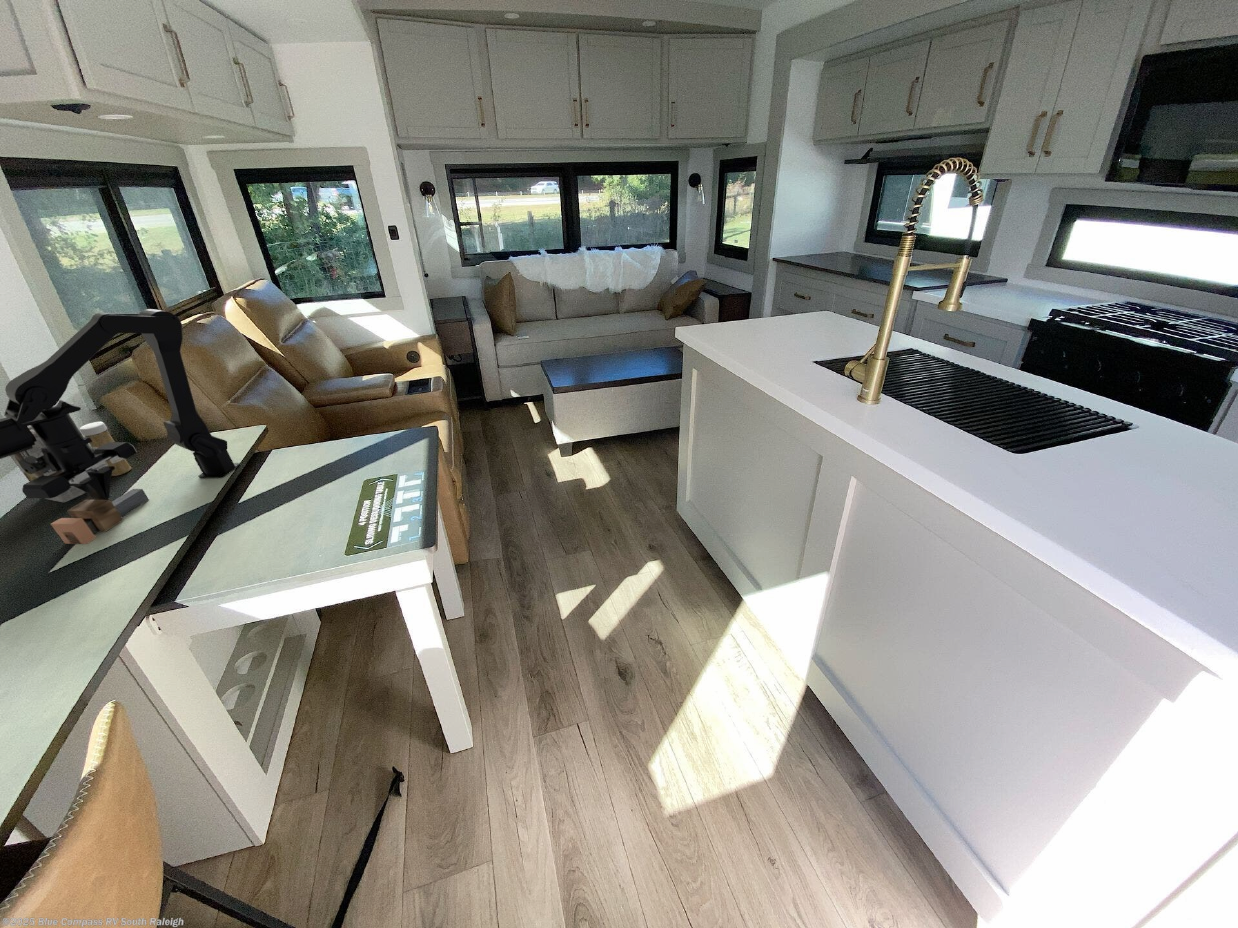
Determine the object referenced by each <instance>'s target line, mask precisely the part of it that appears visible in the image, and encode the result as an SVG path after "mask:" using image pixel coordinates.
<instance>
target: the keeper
mask: <svg viewBox="0 0 1238 928" xmlns="http://www.w3.org/2000/svg"><path fill="white" fill-rule="evenodd" d="M66 511H67V513H68V514H69V516H70V518H82V519H92V520H93V522H94V523H95V525H96V526H97V527H98V529H99V530H100V532H107V531H109V530H111V529H112V528H113V527H115V526H116V525H118V524H119V523H121V522H122V521H124V519H123V517H121V516H120V514H119V513H118V511H117V510H116V508H115V507H114V505H113V504H112V501H111V500H110V499H109V500H96V499H84V500H83V501H81V502H79V503H77V504H76V505H74V506H72V507H71V508H68V509H67V510H66Z"/></svg>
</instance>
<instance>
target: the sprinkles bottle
mask: <svg viewBox="0 0 1238 928" xmlns="http://www.w3.org/2000/svg"><path fill="white" fill-rule="evenodd" d="M79 430H80V432H81V433H82V435H83V437H90V439H91V440H92V442H90V443H89V446H90V447H91V449H92V450H93V451H94V450H95V449H97V448H99V447H101V446H103V445H105V444H107V443H109V442H116V441H115V440H114V439H113V437H112V436H111V433H110V432H109V430H108V427H107V426H106V424H105V423H104V422H103V421H95V422H90V423H89V422H88V423H86V424H85V425H82V426H80V427H79ZM106 464H107V465H108V466H114V467H115V469H114V470H113V471H112V475H111V477H115V476H116V477H117V476H121V475H124V474H127V473H128V472H129V471H131V470H132V466H130V464H129V463H128V461H127V460H126V459H124V458H120V457H118V455H117V456H115V457H113V458H111V459H110V460H108V461H106Z"/></svg>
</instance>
